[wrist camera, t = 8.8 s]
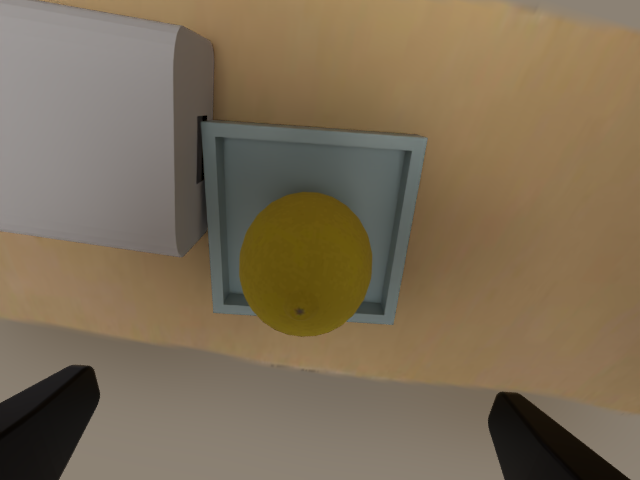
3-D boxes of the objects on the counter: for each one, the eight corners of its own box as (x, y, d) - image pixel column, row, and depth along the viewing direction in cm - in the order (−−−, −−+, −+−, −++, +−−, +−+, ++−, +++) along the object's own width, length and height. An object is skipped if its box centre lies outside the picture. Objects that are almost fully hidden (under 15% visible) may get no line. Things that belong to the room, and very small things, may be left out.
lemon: (374, 189, 17) (412, 255, 10) (346, 281, 19) (359, 392, 12) (269, 164, 17) (224, 211, 9) (252, 260, 19) (203, 362, 11)
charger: (-120, -15, 15) (217, 44, 15) (-61, 186, 18) (211, 227, 19) (-308, -65, 10) (174, 20, 11) (-183, 213, 14) (177, 265, 15)
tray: (417, 134, 17) (427, 138, 15) (387, 306, 20) (393, 324, 19) (213, 119, 16) (200, 121, 15) (222, 295, 20) (213, 312, 19)
